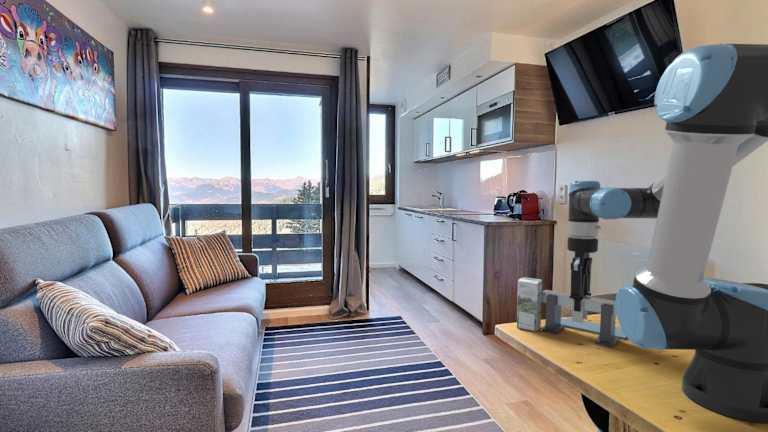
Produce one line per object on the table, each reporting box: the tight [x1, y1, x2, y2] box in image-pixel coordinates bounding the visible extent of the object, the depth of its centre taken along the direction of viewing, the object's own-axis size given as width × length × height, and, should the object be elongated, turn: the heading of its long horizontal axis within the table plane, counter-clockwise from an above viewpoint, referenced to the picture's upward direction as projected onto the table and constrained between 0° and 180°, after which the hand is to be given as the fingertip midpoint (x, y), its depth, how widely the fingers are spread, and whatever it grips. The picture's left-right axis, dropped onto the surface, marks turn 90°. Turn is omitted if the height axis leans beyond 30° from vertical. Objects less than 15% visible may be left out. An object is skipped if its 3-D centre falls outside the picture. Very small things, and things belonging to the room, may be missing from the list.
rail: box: [541, 289, 617, 317], centre depth 110 cm, size 4×20×3 cm, turn 50°
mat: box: [561, 315, 628, 341], centre depth 117 cm, size 8×21×1 cm, turn 50°
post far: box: [540, 295, 565, 336], centre depth 115 cm, size 7×4×10 cm, turn 140°
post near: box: [594, 305, 620, 348], centre depth 106 cm, size 7×4×10 cm, turn 140°
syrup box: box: [516, 276, 543, 333], centre depth 116 cm, size 6×6×14 cm
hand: (579, 320), depth 110 cm, fingers closed on rail, 3 cm apart
